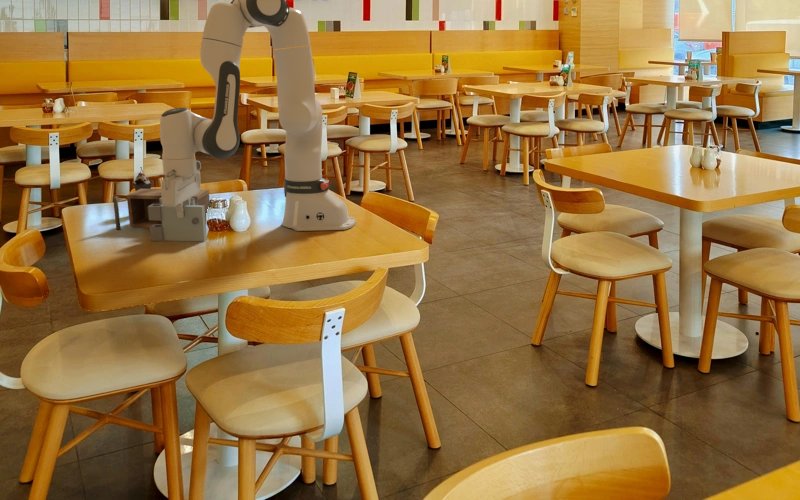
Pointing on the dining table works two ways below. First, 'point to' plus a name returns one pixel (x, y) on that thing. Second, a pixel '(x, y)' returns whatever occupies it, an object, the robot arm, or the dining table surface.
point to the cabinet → (147, 197)
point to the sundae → (142, 182)
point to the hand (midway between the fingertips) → (183, 215)
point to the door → (178, 223)
